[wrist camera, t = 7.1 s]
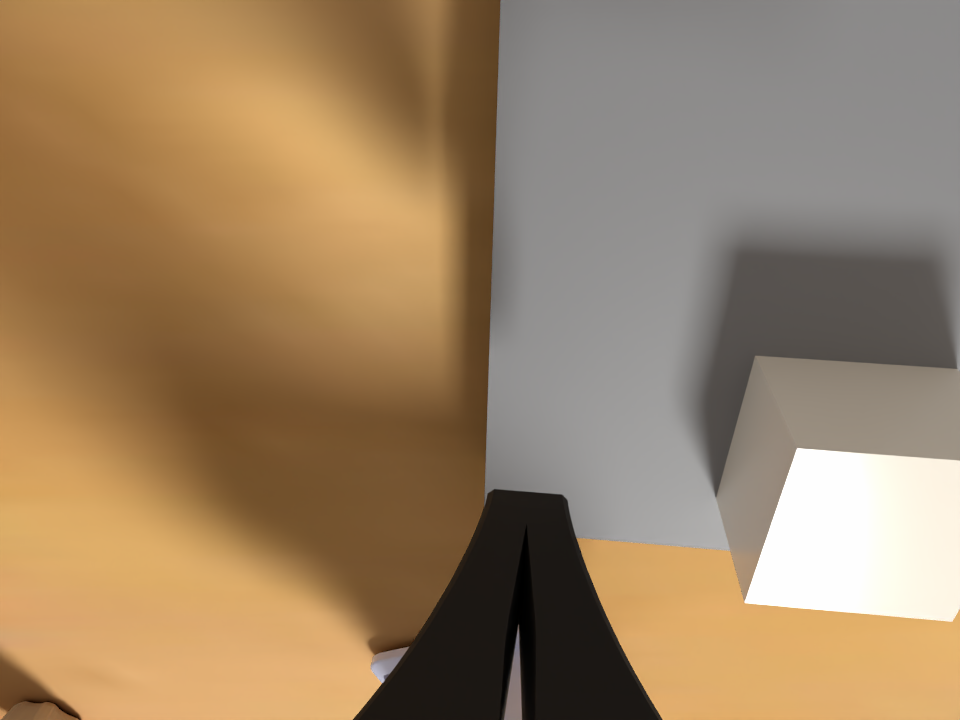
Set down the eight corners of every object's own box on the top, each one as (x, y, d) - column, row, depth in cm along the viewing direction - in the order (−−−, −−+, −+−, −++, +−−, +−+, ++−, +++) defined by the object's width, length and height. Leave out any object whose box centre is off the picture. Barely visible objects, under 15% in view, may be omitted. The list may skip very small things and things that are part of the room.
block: (716, 498, 16) (744, 602, 14) (755, 356, 14) (797, 448, 12) (890, 512, 16) (952, 621, 14) (957, 368, 14) (1044, 467, 12)
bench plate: (491, 465, 20) (483, 529, 18) (511, -69, 13) (502, -67, 11) (927, 499, 19) (973, 571, 17) (1200, -51, 12) (1336, -46, 10)
